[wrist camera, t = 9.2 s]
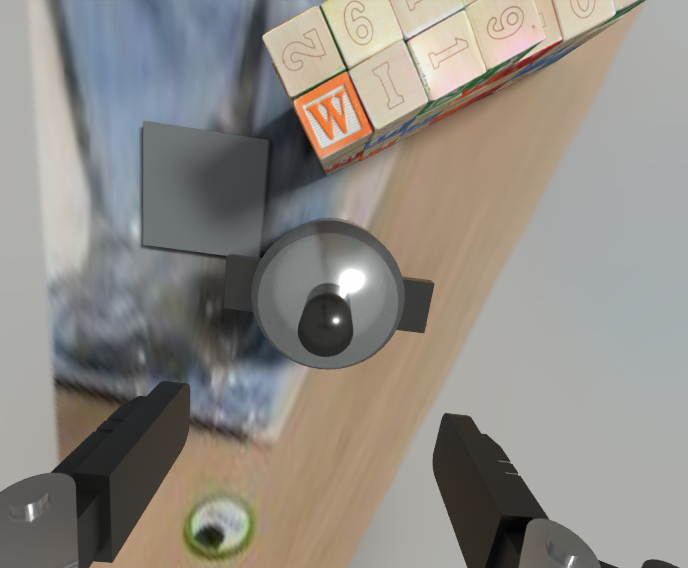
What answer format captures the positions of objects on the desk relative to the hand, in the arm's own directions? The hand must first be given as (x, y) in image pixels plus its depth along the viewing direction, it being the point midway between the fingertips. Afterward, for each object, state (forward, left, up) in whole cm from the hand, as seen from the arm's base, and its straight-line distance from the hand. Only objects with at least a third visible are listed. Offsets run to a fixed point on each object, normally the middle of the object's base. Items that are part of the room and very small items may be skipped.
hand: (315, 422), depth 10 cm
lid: (0, 0, -14) cm, 14 cm away
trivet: (-6, -11, -21) cm, 25 cm away
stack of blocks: (-17, +6, -21) cm, 28 cm away
